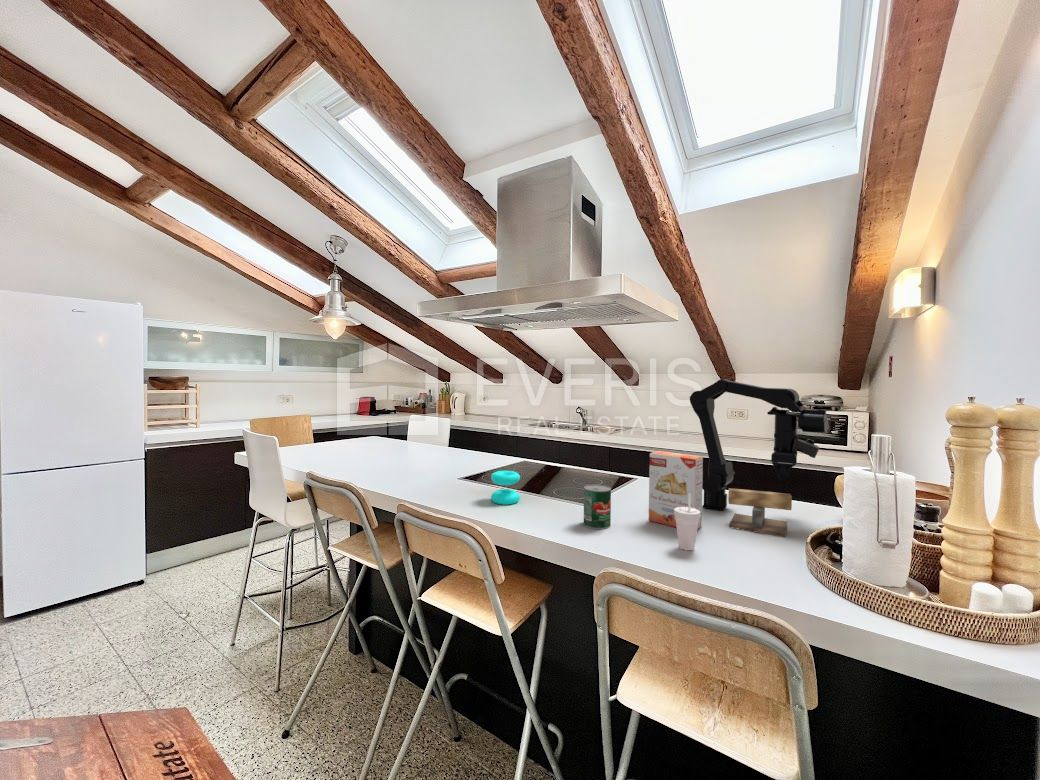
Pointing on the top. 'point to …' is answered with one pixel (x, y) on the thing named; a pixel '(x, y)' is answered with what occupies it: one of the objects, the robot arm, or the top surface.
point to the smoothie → (687, 525)
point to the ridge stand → (759, 523)
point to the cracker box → (674, 485)
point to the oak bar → (760, 499)
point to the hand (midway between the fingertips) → (784, 481)
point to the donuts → (505, 495)
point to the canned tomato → (597, 506)
